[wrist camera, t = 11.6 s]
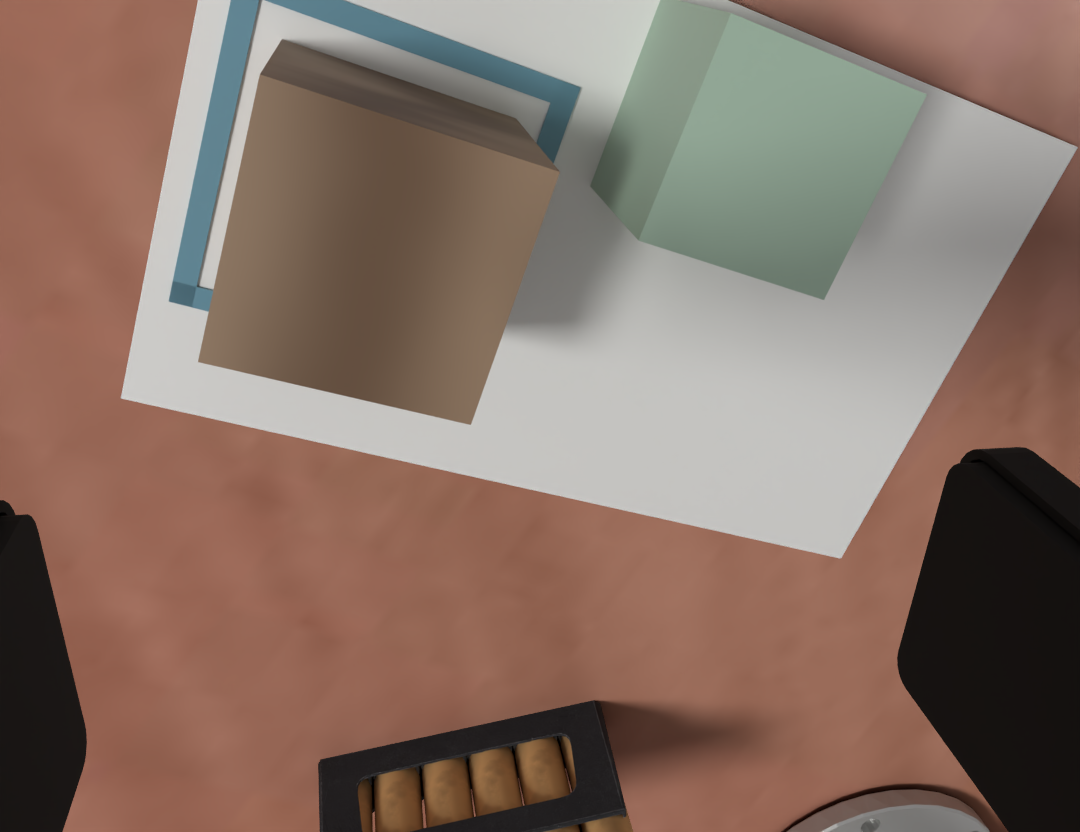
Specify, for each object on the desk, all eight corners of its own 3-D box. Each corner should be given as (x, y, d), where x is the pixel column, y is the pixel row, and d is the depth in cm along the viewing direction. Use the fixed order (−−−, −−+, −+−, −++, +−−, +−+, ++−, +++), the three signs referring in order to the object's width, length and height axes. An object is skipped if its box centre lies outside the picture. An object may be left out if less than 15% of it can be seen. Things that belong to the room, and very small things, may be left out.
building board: (1055, 140, 28) (1080, 148, 27) (828, 542, 34) (842, 560, 33) (243, -201, 21) (237, -207, 20) (128, 382, 27) (120, 400, 26)
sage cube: (827, 64, 25) (927, 94, 21) (748, 239, 27) (824, 300, 23) (662, -4, 24) (730, 12, 19) (590, 186, 26) (638, 240, 21)
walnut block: (516, 118, 24) (560, 171, 19) (448, 326, 27) (470, 425, 21) (281, 39, 23) (259, 74, 17) (231, 269, 25) (197, 362, 20)
